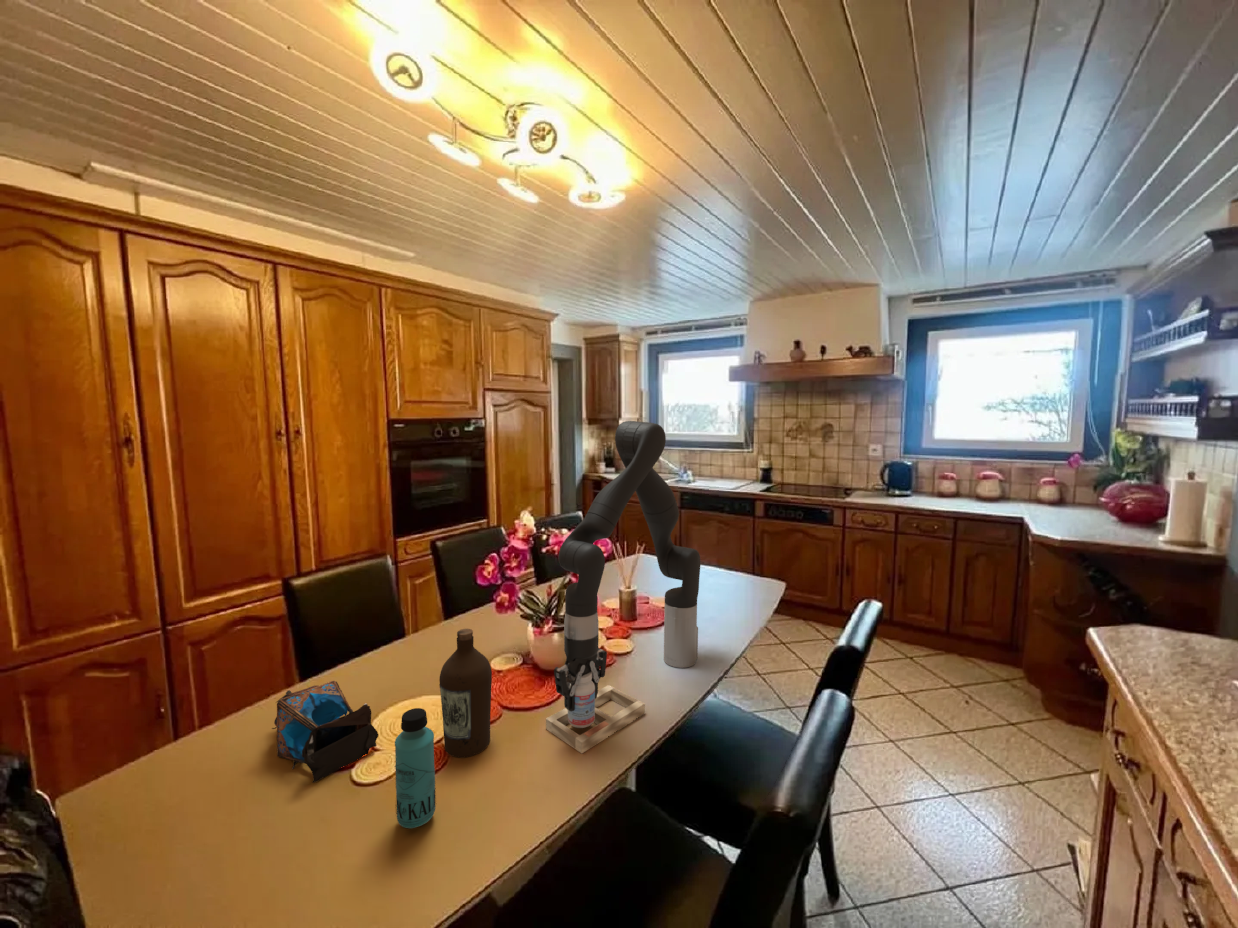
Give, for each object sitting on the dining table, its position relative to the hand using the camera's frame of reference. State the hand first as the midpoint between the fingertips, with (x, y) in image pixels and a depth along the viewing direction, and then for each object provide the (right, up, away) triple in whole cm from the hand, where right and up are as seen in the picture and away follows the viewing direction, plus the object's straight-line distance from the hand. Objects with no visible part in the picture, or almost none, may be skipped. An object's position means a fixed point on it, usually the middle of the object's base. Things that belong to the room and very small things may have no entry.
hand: (581, 703), depth 114 cm
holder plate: (+3, -6, +4) cm, 8 cm away
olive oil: (-24, -7, -4) cm, 26 cm away
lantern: (-55, -7, -6) cm, 56 cm away
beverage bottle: (-27, -9, -25) cm, 38 cm away
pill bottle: (0, -4, 0) cm, 4 cm away
